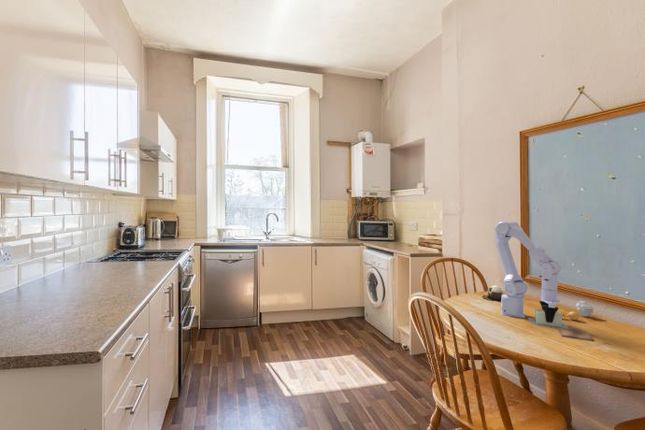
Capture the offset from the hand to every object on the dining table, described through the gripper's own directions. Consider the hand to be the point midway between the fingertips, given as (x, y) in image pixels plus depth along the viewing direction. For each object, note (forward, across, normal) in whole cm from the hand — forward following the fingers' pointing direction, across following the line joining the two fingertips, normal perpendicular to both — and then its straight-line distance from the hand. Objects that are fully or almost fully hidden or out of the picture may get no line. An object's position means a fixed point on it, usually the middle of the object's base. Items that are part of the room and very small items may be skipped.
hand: (547, 320), depth 149 cm
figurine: (+1, +12, -14) cm, 18 cm away
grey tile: (+2, 0, 0) cm, 2 cm away
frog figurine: (+2, +22, -18) cm, 28 cm away
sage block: (+1, 0, 0) cm, 1 cm away
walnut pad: (+2, -11, -7) cm, 13 cm away
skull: (+2, +37, +19) cm, 42 cm away
